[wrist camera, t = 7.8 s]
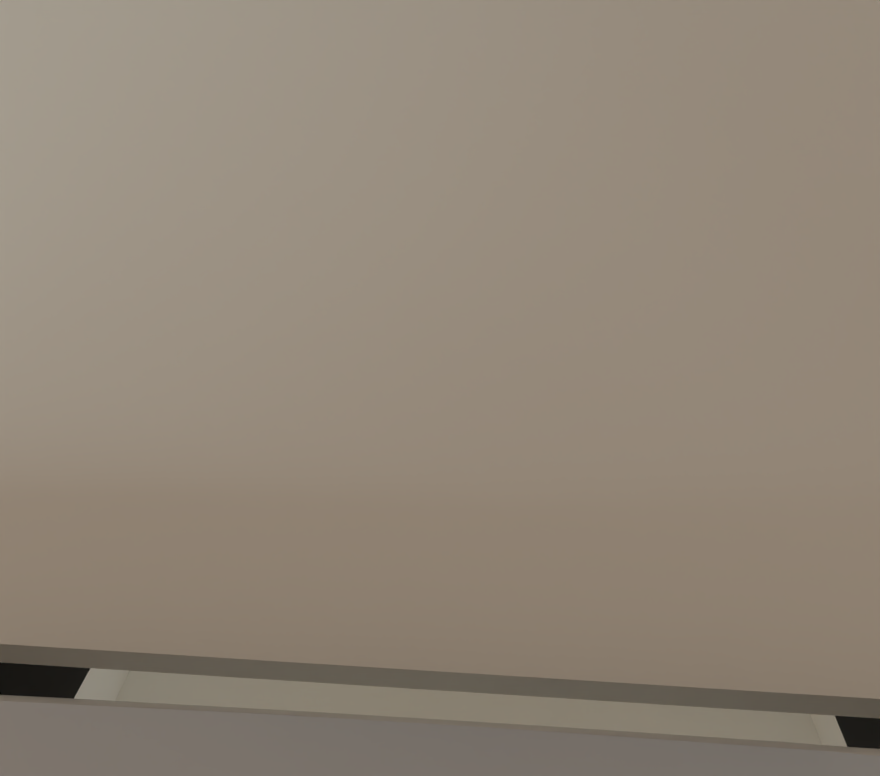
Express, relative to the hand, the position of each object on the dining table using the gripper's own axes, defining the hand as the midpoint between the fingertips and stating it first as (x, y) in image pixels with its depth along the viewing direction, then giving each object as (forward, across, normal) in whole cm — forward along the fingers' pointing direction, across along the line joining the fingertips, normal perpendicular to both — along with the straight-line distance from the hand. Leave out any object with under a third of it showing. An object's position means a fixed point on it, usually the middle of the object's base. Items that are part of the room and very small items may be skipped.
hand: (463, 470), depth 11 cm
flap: (-1, 0, -3) cm, 4 cm away
